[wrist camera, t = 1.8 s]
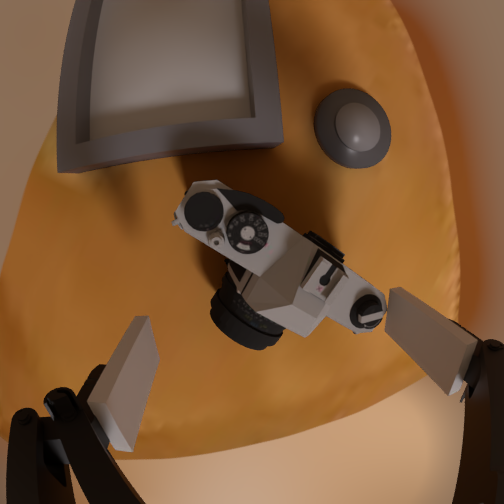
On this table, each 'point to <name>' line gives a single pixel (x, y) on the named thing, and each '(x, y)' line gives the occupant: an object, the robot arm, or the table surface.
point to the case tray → (166, 81)
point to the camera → (273, 270)
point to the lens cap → (352, 129)
